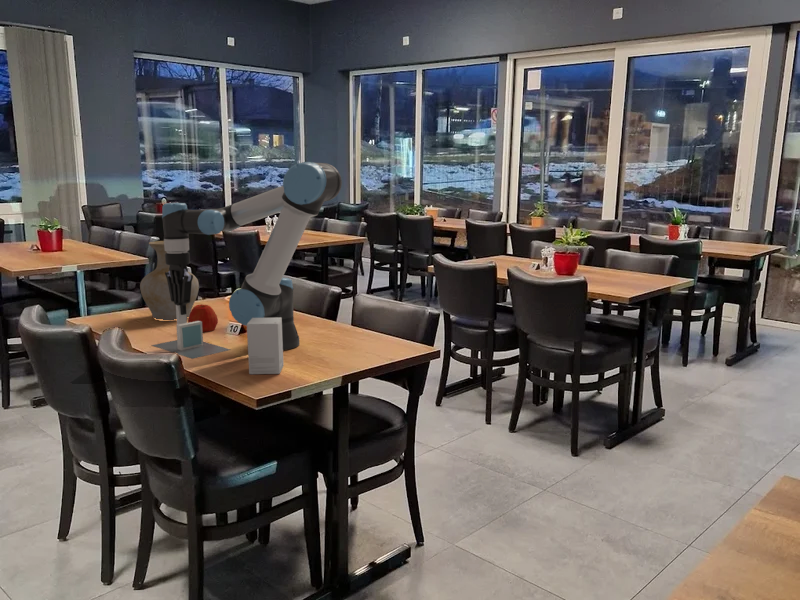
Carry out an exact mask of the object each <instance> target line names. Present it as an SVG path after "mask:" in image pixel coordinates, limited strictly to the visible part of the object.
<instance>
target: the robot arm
mask: <svg viewBox="0 0 800 600" xmlns="http://www.w3.org/2000/svg"><path fill="white" fill-rule="evenodd" d="M342 184H343V181H342V176H341V174H340V172H339V170H338V169H337V168H336V167H335V166H334V165H331V164H329V163H327V162H313V161H303V162H299V163H296V164H293V165H292V166H291V167H290V168H288V169H287V171H286V173H285V174H284V176H283V180H282V186H278V187H275V188H273V189H270V190H267V191H265V192H262V193H259V194H257V195H254V196H250V197H249V198H246V199H243V200H240V201H238V202H235V203H232V204H230V205H227V206H224V207H221V208H220V207H219V208H207V209H188V205H187V203H185V202H168V203H166V202H165V203H164V204H162V206H161V207H162V210H161V211H162V214H161V215H162V216H161V220H162V227H163V235H164V236H163V241H164V248H165V251H166V252H167V253H166V254H165V261H166V264H167V265H170V266H169V271H168V272H165V276H166V278H167V282H168V287H169V292H170V297H171V301H172V302H174V304H176V316H177V321H176V325H179V324H184V323H188V319H187V316H186V304H187V303H190V297H191V284H192V279H193V275H194V274H193V275H189V273H188V272H189V269H188V265H189V264H190V263H191V255H190V254H191V253H190V252H189V251H190V239H189V238H190V236H189V234H190V235H191V234H196V235H207V236H210V235H218V234H220V233H221V232H230V231H231V232H232V231H235V230H237V229H239V228H240V227H242V226H244V225H247V224H250V223H253V222H256V221H259V220H261V219H264V218H267V217H270V216H272V215H273V216H274V215H276V214H278V213H279V215H278V217H277V220H276V222H275V224H274V226H273V229H272V231H271V233H270V234H269V238H268V239H267V241H266V244H265V246H264V249H263V251H262V252H261V255H260V257H259V259H258V262H256V263H257V264H256V266H255V268H254V270H253V272H252V273H249V274H247V275H246V276H245V277H244V280H243V282H242V285H241V287H240V288H239V289H237V290H235V291H234V292H233V293H232V294H231V295H230V297H229V301H228V308H229V311H230V313H231V316H232V318H234V321H236V322H237V323H239V324H241V325H242V326H245V327H247V323H248V322H249V321H250V320H251V319H252V318H280V317H281V318H282V341H283V351H287V350H291V349H295V348H297V347H299V346H300V336H299V334H298V330H297V328H296V325H295V322H294V319H295V318H294V317H295V316H294V286H293V281H292V279H291V278H289V277H284V275H285V273H286V271H287V268H288V267H289V265H290V262H291V260H292V258H293V256H294V253H295V252H296V249H297V247H298V245H299V243H300V241H301V239H302V236H303V234H304V232H305V230H306V229H307V226H308V224H309V222H310V220H311V218H314V217H316V216H318V215H319V212H320V211H321V209H322V207H323V204H324V203H325V202H329V201H331V200H333V199H335V198H336V197H337V196H338V195H339V193H340V191H341V190H342Z"/></svg>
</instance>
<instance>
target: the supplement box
mask: <svg viewBox="0 0 800 600" xmlns="http://www.w3.org/2000/svg"><path fill="white" fill-rule="evenodd" d="M246 337H247V354H248V355H247V356H248V359H247V360H248V374H249V375H279V374H281V371H282V370H283V368H284V350H283V341H282V318H281V317H280V318H252V319H251V320H250V321H249V322H248V323H247V326H246Z"/></svg>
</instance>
